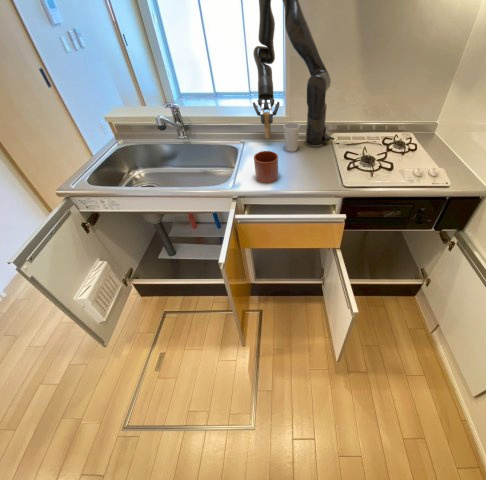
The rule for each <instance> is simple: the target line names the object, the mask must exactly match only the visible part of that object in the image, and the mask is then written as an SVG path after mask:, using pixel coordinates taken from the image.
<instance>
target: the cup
mask: <svg viewBox="0 0 486 480" xmlns="http://www.w3.org/2000/svg"><path fill="white" fill-rule="evenodd" d="M300 126H301V125H300V124H299V123H298V122H294V121H291V122H286V123H284V124H283V135H284V146H285V147H284V148H285V151H287V152H292V153H293V152H296V151H297V150H298V148H299V147H298V145H299V136H300V128H301V127H300Z"/></svg>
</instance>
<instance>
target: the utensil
mask: <svg viewBox="0 0 486 480" xmlns="http://www.w3.org/2000/svg"><path fill="white" fill-rule="evenodd" d="M263 116H264V124H263V129H264V139H270V138H272V129H271V124H270V112H269V111H264V113H263Z"/></svg>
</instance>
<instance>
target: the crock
mask: <svg viewBox="0 0 486 480" xmlns="http://www.w3.org/2000/svg"><path fill="white" fill-rule="evenodd" d="M253 164H254V174H255V180H256V181H257V182H258V183H261V184H273V183H275V182H276V181H278V180H279V174H280V173H279V156H278V153H276V152H274V151H270V150H265V151H264V150H261V151H259V152H256V153H255V154H254V156H253Z"/></svg>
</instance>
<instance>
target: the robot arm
mask: <svg viewBox="0 0 486 480" xmlns="http://www.w3.org/2000/svg"><path fill="white" fill-rule="evenodd" d="M282 4H283V11H284V29H285V32H286V35H287V37H288V40H289V41H290V44H291V47H292V48H293V50H294V51H295V52H296V54H297V55H298V56H299V57H300V58H301V60H302V61H303V62H304V64H305V66H306V68H307V70H308V73H309V77H308V78H307V79H308V80H307V83H306V105H307V113H306V114H307V115H306V131H305V135H306V136H305V144H306V146H308V147H310V148H311V147H312V148H319V147H322V146H324V145H325V143H329V142H330V140H332V141H334V139H336V138H334V137H332V136H329V134H328V133H326V132H327V126H326V117H327V108H328V107H327V106H328V104H327V103H326V96H327V92H328V90H329V89H330V87H331V82H332V81H331V80H332V79H331V76H330V73H329V72H328V70H327V68H326V66H325V64H324V62H323V60H322V58H321V56H320V55H321V54H320V53H319V50H318V47H317V44H316V42H315V39H314V37H313V34H312V31H311V29H310V26H309V24H308V21H307V19H306V17H305V14H304V12H303V9H302V6H301V3H300V1H299V0H282ZM258 7H259V24H258V35H257V37H258V43H260V44H261V45H257V46H255V47H254V48H253V60H254V62H255V65H256V66H255V67H256V69H257V97H258V99H257V101H256V102H252V107H253V109H254V111H255V113H256V115H257V117H260V123H261V124H262V125H264V116H263V113H264V112H265V111H266V110H267V111H268V112H269V113H270V125H271V124H273V122H274V116H277V114H278V111H279V108H280V101H275V99H274V98H275V97H274V81H273V69H272V67H271V66H270V65H272V64H273V63H274V62H275V59H276V55H275V54H276V53H275V47H274V37H275V28H276V22H275V17H274V14H273V10H272V0H258ZM273 106H274V109H273ZM259 107H260V110H259V109H258V108H259Z"/></svg>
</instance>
